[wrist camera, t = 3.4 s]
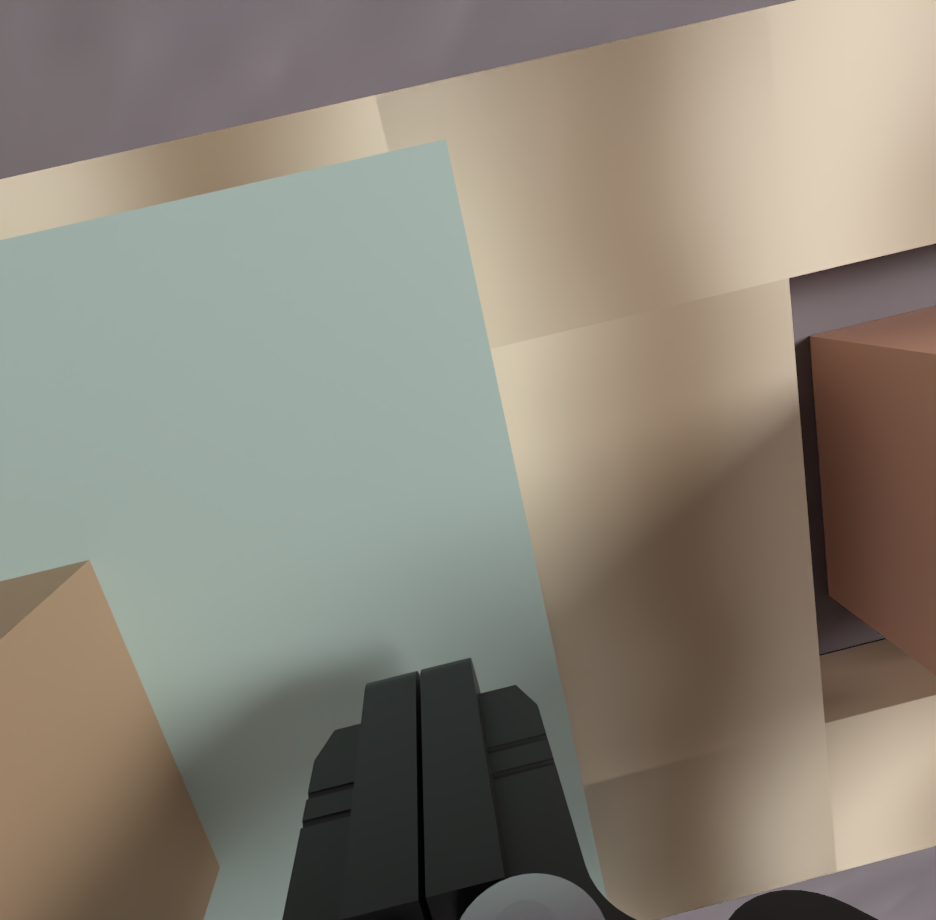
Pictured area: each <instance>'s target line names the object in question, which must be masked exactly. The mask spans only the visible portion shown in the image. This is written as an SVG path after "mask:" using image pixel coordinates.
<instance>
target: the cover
mask: <svg viewBox="0 0 936 920" xmlns="http://www.w3.org/2000/svg"><path fill="white" fill-rule="evenodd" d="M470 657H471V659H472V662H473V665H474V669H475V673H476V677H477V681H478V685H479V689H480V692H481V693H484V692H488V691H492V690H496V689H500V688H504V687H508V686H512V685H517V686H518V687H519V688H520V689H521V690H522V691H523V692H524V693H525V694H526V695H527V696H529V697H530V698H531V699H532V700H533V701H534V702H535V703H536V704H537V705H538V708H539V711H540V715H541V718H542V721H543V725H544V728H545V731H546V735H547V739H548V741H549V745H550V748H551V751H552V755H553V758H554V762H555V765H556V768H557V772H558V775H559V778H560V782H561V785H562V788H563V792H564V795H565V798H566V802H567V805H568V808H569V812H570V815H571V818H572V822H573V825H574V828H575V832H576V835H577V838H578V842H579V845H580V849H581V852H582V855H583V859H584V862H585V865H586V868H587V870H588V873H589V875H590V877H591V879H592V881H593V882H594V884H595V886H596V887H597V889H598V890H599V891H600V892H601V893H602V895H603V896H604V897H605V898H606V899H607V897H606V892H605V887H604V882H603V878H602V873H601V868H600V864H599V859H598V854H597V849H596V845H595V840H594V835H593V831H592V826H591V821H590V817H589V812H588V807H587V802H586V798H585V793H584V788H583V784H582V779H581V774H580V769H579V765H578V760H577V755H576V751H575V746H574V741H573V736H572V732H571V727H570V722H569V718H568V713H567V708H566V703H565V699H564V694H563V689H562V685H561V680H560V675H559V670H558V666H557V661H556V656H555V652H554V647H553V642H552V638H551V633H550V628H549V623H548V619H547V614H546V609H545V605H544V600H543V595H542V590H541V586H540V581H539V576H538V572H537V567H536V562H535V557H534V553H533V548H532V543H531V539H530V534H529V529H528V524H527V520H526V515H525V510H524V506H523V501H522V496H521V492H520V487H519V482H518V477H517V473H516V468H515V463H514V459H513V454H512V449H511V444H510V440H509V435H508V430H507V426H506V421H505V416H504V411H503V407H502V402H501V397H500V393H499V388H498V383H497V378H496V374H495V369H494V364H493V360H492V355H491V350H490V345H489V341H488V336H487V331H486V327H485V322H484V317H483V313H482V308H481V303H480V298H479V294H478V289H477V284H476V280H475V275H474V270H473V265H472V261H471V256H470V251H469V247H468V242H467V237H466V232H465V228H464V223H463V218H462V214H461V209H460V204H459V199H458V195H457V190H456V185H455V181H454V176H453V171H452V166H451V162H450V157H449V152H448V148H447V143H446V139H444V140H439V141H435V142H430V143H426V144H422V145H417V146H413V147H408V148H404V149H400V150H395V151H391V152H386V153H382V154H378V155H373V156H369V157H364V158H360V159H356V160H351V161H347V162H342V163H338V164H334V165H329V166H325V167H320V168H316V169H312V170H307V171H303V172H298V173H294V174H290V175H285V176H281V177H276V178H272V179H268V180H263V181H259V182H254V183H250V184H246V185H241V186H237V187H232V188H228V189H224V190H219V191H215V192H210V193H206V194H202V195H197V196H193V197H188V198H184V199H180V200H175V201H171V202H166V203H162V204H158V205H153V206H149V207H144V208H140V209H136V210H131V211H127V212H122V213H118V214H114V215H109V216H105V217H101V218H96V219H92V220H87V221H83V222H79V223H74V224H70V225H65V226H61V227H57V228H52V229H48V230H43V231H39V232H35V233H30V234H26V235H21V236H17V237H13V238H8V239H4V240H0V920H282V918H283V913H284V908H285V903H286V898H287V893H288V888H289V883H290V878H291V873H292V868H293V863H294V859H295V854H296V849H297V844H298V839H299V834H300V829H301V828H303V823H302V819H303V814H304V809H305V804H306V800H307V799H308V789H309V784H310V779H311V774H312V769H313V764H314V760H315V759H316V757H317V756H318V754H319V753H320V751H321V750H322V748H323V747H324V745H325V744H326V742H327V741H328V739H329V738H330V736H331V735H332V733H333V732H334V730H337V729H341V728H345V727H349V726H353V725H357V724H361V718H362V709H363V700H364V691H365V686H366V684H367V683H370V682H374V681H378V680H382V679H386V678H390V677H394V676H398V675H402V674H406V673H411V672H415V671H418V672H419V674H420V672H421V670H422V669H426V668H430V667H434V666H438V665H442V664H446V663H450V662H454V661H458V660H462V659H466V658H470Z"/></svg>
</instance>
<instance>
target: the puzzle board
mask: <svg viewBox="0 0 936 920" xmlns="http://www.w3.org/2000/svg"><path fill="white" fill-rule="evenodd" d="M444 139H446V143H447V148H448V152H449V157H450V162H451V166H452V171H453V176H454V181H455V185H456V190H457V195H458V199H459V204H460V209H461V214H462V218H463V223H464V228H465V232H466V237H467V242H468V247H469V251H470V256H471V261H472V265H473V270H474V275H475V280H476V284H477V289H478V294H479V298H480V303H481V308H482V313H483V317H484V322H485V327H486V331H487V336H488V341H489V345H490V350H491V355H492V360H493V364H494V369H495V374H496V378H497V383H498V388H499V393H500V397H501V402H502V407H503V411H504V416H505V421H506V426H507V430H508V435H509V440H510V444H511V449H512V454H513V459H514V463H515V468H516V473H517V477H518V482H519V487H520V492H521V496H522V501H523V506H524V510H525V515H526V520H527V524H528V529H529V534H530V539H531V543H532V548H533V553H534V557H535V562H536V567H537V572H538V576H539V581H540V586H541V590H542V595H543V600H544V605H545V609H546V614H547V619H548V623H549V628H550V633H551V638H552V642H553V647H554V652H555V656H556V661H557V666H558V670H559V675H560V680H561V685H562V689H563V694H564V699H565V703H566V708H567V713H568V718H569V722H570V727H571V732H572V736H573V741H574V746H575V751H576V755H577V760H578V765H579V769H580V774H581V779H582V784H583V788H584V793H585V798H586V802H587V807H588V812H589V817H590V821H591V826H592V831H593V835H594V840H595V845H596V849H597V854H598V859H599V864H600V868H601V873H602V878H603V882H604V887H605V892H606V897H607V900H608V901H609V902H610V903H611V904H613V905H614V906H615V907H616V908H617V909H619V910H621V911H622V912H624V913H625V914H627V915H628V916H630V917H632V918H634V919H636V920H657V919H661V918H665V917H669V916H672V915H676V914H680V913H684V912H687V911H691V910H695V909H699V908H703V907H706V906H710V905H714V904H718V903H721V902H725V901H729V900H733V899H737V898H740V897H744V896H748V895H752V894H756V893H759V892H763V891H767V890H771V889H774V888H778V887H782V886H786V885H790V884H793V883H797V882H801V881H805V880H808V879H812V878H816V877H820V876H824V875H827V874H831V873H835V872H839V871H842V870H846V869H850V868H854V867H858V866H861V865H865V864H869V863H873V862H877V861H880V860H884V859H888V858H892V857H895V856H899V855H903V854H907V853H911V852H914V851H918V850H922V849H926V848H929V847H933V846H936V675H934V674H933V673H932V672H930V671H929V670H928V669H926V668H925V667H924V666H922V665H921V664H920V663H918V662H917V661H916V660H914V659H913V658H912V657H910V656H909V655H908V654H906V653H905V652H904V651H902V650H901V649H900V648H898V647H897V646H896V645H894V644H893V643H892V642H890V641H889V640H888V639H884V640H880V641H876V642H872V643H868V644H864V645H860V646H856V647H852V648H849V649H845V650H841V651H837V652H833V653H829V654H825V655H821V656H819V645H818V633H817V620H816V608H815V595H814V583H813V571H812V558H811V546H810V533H809V521H808V509H807V496H806V484H805V471H804V459H803V447H802V434H801V422H800V409H799V397H798V385H797V372H796V360H795V347H794V335H793V323H792V310H791V298H790V285H789V278H792V277H796V276H800V275H804V274H809V273H813V272H817V271H821V270H825V269H830V268H834V267H838V266H842V265H846V264H851V263H855V262H859V261H863V260H868V259H872V258H876V257H880V256H884V255H889V254H893V253H897V252H901V251H906V250H910V249H914V248H918V247H922V246H927V245H931V244H935V243H936V0H796V1H792V2H788V3H783V4H779V5H774V6H770V7H765V8H761V9H756V10H752V11H748V12H743V13H739V14H734V15H730V16H725V17H721V18H716V19H712V20H707V21H703V22H699V23H694V24H690V25H685V26H681V27H676V28H672V29H667V30H663V31H659V32H654V33H650V34H645V35H641V36H636V37H632V38H627V39H623V40H618V41H614V42H610V43H605V44H601V45H596V46H592V47H587V48H583V49H578V50H574V51H570V52H565V53H561V54H556V55H552V56H547V57H543V58H538V59H534V60H530V61H525V62H521V63H516V64H512V65H507V66H503V67H498V68H494V69H489V70H485V71H481V72H476V73H472V74H467V75H463V76H458V77H454V78H449V79H445V80H441V81H436V82H432V83H427V84H423V85H418V86H414V87H409V88H405V89H400V90H396V91H392V92H387V93H383V94H378V95H374V96H369V97H365V98H360V99H356V100H352V101H347V102H343V103H338V104H334V105H329V106H325V107H320V108H316V109H311V110H307V111H303V112H298V113H294V114H289V115H285V116H280V117H276V118H271V119H267V120H263V121H258V122H254V123H249V124H245V125H240V126H236V127H231V128H227V129H222V130H218V131H214V132H209V133H205V134H200V135H196V136H191V137H187V138H182V139H178V140H174V141H169V142H165V143H160V144H156V145H151V146H147V147H142V148H138V149H134V150H129V151H125V152H120V153H116V154H111V155H107V156H102V157H98V158H93V159H89V160H85V161H80V162H76V163H71V164H67V165H62V166H58V167H53V168H49V169H45V170H40V171H36V172H31V173H27V174H22V175H18V176H13V177H9V178H4V179H0V240H4V239H8V238H13V237H17V236H21V235H26V234H30V233H35V232H39V231H43V230H48V229H52V228H57V227H61V226H65V225H70V224H74V223H79V222H83V221H87V220H92V219H96V218H101V217H105V216H109V215H114V214H118V213H122V212H127V211H131V210H136V209H140V208H144V207H149V206H153V205H158V204H162V203H166V202H171V201H175V200H180V199H184V198H188V197H193V196H197V195H202V194H206V193H210V192H215V191H219V190H224V189H228V188H232V187H237V186H241V185H246V184H250V183H254V182H259V181H263V180H268V179H272V178H276V177H281V176H285V175H290V174H294V173H298V172H303V171H307V170H312V169H316V168H320V167H325V166H329V165H334V164H338V163H342V162H347V161H351V160H356V159H360V158H364V157H369V156H373V155H378V154H382V153H386V152H391V151H395V150H400V149H404V148H408V147H413V146H417V145H422V144H426V143H430V142H435V141H439V140H444Z"/></svg>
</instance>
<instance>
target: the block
mask: <svg viewBox="0 0 936 920" xmlns="http://www.w3.org/2000/svg"><path fill="white" fill-rule="evenodd" d="M810 348H811V361H812V375H813V388H814V402H815V415H816V429H817V442H818V456H819V470H820V483H821V497H822V510H823V524H824V537H825V551H826V564H827V578H828V591H829V596H830V597H832V598H833V599H834V600H836V601H837V602H838V603H840V604H841V605H842V606H844V607H845V608H846V609H848V610H849V611H850V612H852V613H853V614H854V615H856V616H857V617H858V618H860V619H861V620H862V621H864V622H865V623H866V624H868V625H869V626H870V627H872V628H873V629H874V630H876V631H877V632H878V633H880V634H881V635H882V636H884V637H885V638H886V639H888V640H889V641H890V642H892V643H893V644H894V645H896V646H897V647H898V648H900V649H901V650H902V651H904V652H905V653H906V654H908V655H909V656H910V657H912V658H913V659H914V660H916V661H917V662H918V663H920V664H921V665H922V666H924V667H925V668H926V669H928V670H929V671H930V672H932V673H933V674H934V675H936V306H933V307H929V308H925V309H920V310H916V311H912V312H908V313H904V314H900V315H895V316H891V317H887V318H883V319H879V320H875V321H870V322H866V323H862V324H858V325H854V326H850V327H845V328H841V329H837V330H833V331H829V332H825V333H820V334H816V335H812V336H810Z"/></svg>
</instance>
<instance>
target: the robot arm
mask: <svg viewBox="0 0 936 920" xmlns="http://www.w3.org/2000/svg"><path fill="white" fill-rule="evenodd" d="M302 823H303V828H301V829H300V834H299V839H298V844H297V849H296V854H295V859H294V863H293V868H292V873H291V878H290V883H289V888H288V893H287V898H286V903H285V908H284V913H283V918H282V920H636V919H634V918H632V917H630V916H628V915H627V914H625V913H624V912H622V911H621V910H619V909H617V908H616V907H615V906H614V905H613V904H611V903H610V902H609V901H608V900H607V899H606V898H605V897H604V896H603V895H602V893H601V892H600V891H599V890H598V889H597V887H596V886H595V884H594V882H593V881H592V879H591V877H590V875H589V873H588V870H587V868H586V865H585V862H584V859H583V855H582V852H581V849H580V845H579V842H578V838H577V835H576V832H575V828H574V825H573V822H572V818H571V815H570V812H569V808H568V805H567V802H566V798H565V795H564V792H563V788H562V785H561V782H560V778H559V775H558V772H557V768H556V765H555V762H554V758H553V755H552V751H551V748H550V745H549V741H548V739H547V735H546V731H545V728H544V725H543V721H542V718H541V715H540V711H539V708H538V705H537V704H536V703H535V702H534V701H533V700H532V699H531V698H530V697H529V696H527V695H526V694H525V693H524V692H523V691H522V690H521V689H520V688H519V687H518V686H517V685H512V686H508V687H504V688H500V689H496V690H492V691H488V692H484V693H481V692H480V689H479V685H478V681H477V677H476V673H475V669H474V665H473V662H472V659H471V657H470V658H466V659H462V660H458V661H454V662H450V663H446V664H442V665H438V666H434V667H430V668H426V669H422V670H421V672H420V674H419V672H418V671H415V672H411V673H406V674H402V675H398V676H394V677H390V678H386V679H382V680H378V681H374V682H370V683H367V684H366V686H365V691H364V700H363V709H362V718H361V724H357V725H353V726H349V727H345V728H341V729H337V730H334V732H333V733H332V735H331V736H330V738H329V739H328V741H327V742H326V744H325V745H324V747H323V748H322V750H321V751H320V753H319V754H318V756H317V757H316V759H315V760H314V764H313V769H312V774H311V779H310V784H309V789H308V799H307V800H306V804H305V809H304V814H303V819H302ZM729 920H878V919H876V918H874V917H872V916H870V915H868V914H866V913H864V912H862V911H860V910H858V909H856V908H854V907H852V906H850V905H848V904H846V903H844V902H841V901H839V900H837V899H835V898H832V897H828V896H825V895H822V894H819V893H814V892H808V891H801V890H782V891H775V892H769V893H766V894H763V895H760V896H757V897H755V898H753V899H751V900H749V901H747V902H746V903H744V904H743V905H742V906H741V907H740V908H738V909H737V910H736V911H735V912H734V913H733V915H732V916H731V917H730V918H729Z"/></svg>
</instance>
